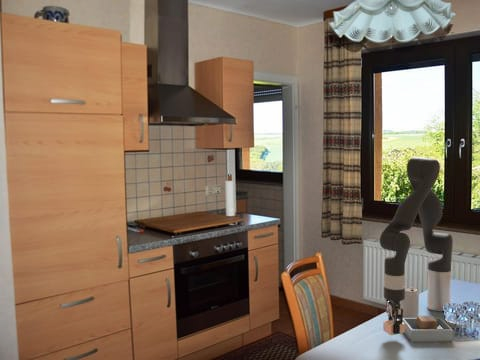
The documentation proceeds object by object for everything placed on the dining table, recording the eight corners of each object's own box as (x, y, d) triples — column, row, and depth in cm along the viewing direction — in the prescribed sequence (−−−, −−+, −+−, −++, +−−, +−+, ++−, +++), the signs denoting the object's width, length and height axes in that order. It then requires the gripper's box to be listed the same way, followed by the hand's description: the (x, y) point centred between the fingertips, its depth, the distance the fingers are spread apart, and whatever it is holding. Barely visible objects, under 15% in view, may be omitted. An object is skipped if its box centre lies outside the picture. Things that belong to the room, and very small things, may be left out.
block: (421, 336, 179) (421, 321, 179) (416, 330, 185) (417, 315, 184) (436, 336, 179) (437, 321, 179) (431, 330, 185) (431, 315, 184)
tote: (401, 329, 188) (401, 317, 188) (440, 329, 188) (440, 317, 187) (411, 342, 176) (411, 330, 176) (453, 342, 176) (453, 330, 176)
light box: (383, 330, 179) (383, 321, 179) (396, 328, 181) (396, 319, 181) (390, 335, 175) (390, 325, 175) (404, 332, 177) (404, 323, 177)
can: (419, 320, 197) (420, 292, 196) (400, 319, 198) (401, 291, 197) (416, 314, 204) (417, 286, 203) (398, 313, 205) (398, 285, 204)
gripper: (411, 291, 169) (410, 338, 171) (398, 279, 183) (398, 322, 185) (389, 292, 169) (389, 338, 171) (378, 279, 184) (378, 322, 185)
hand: (393, 329), depth 178 cm, fingers closed on light box, 5 cm apart
